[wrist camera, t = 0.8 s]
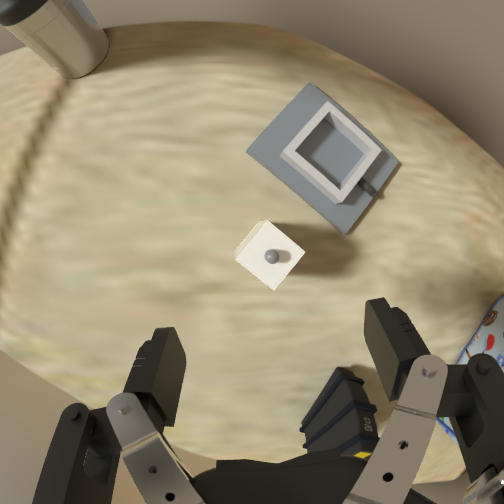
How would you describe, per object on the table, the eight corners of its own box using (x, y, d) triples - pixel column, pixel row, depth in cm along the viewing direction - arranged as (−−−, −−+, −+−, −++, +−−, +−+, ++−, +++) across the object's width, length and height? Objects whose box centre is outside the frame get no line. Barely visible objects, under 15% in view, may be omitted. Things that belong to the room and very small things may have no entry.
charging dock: (246, 152, 37) (247, 144, 33) (307, 85, 36) (314, 73, 33) (342, 234, 38) (352, 235, 35) (394, 163, 38) (408, 158, 34)
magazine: (370, 358, 39) (385, 452, 25) (319, 404, 45) (317, 485, 32) (349, 350, 38) (360, 448, 25) (299, 398, 44) (294, 482, 31)
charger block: (234, 250, 38) (235, 260, 27) (258, 221, 38) (269, 219, 27) (263, 273, 38) (275, 293, 27) (287, 245, 38) (308, 253, 27)
